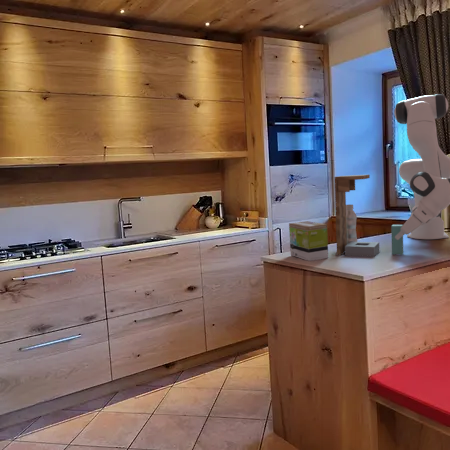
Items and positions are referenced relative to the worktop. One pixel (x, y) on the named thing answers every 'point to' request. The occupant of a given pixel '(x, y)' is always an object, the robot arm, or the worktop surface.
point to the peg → (396, 244)
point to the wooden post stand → (343, 207)
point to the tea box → (308, 240)
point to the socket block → (362, 249)
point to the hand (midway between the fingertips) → (397, 236)
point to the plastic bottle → (351, 224)
